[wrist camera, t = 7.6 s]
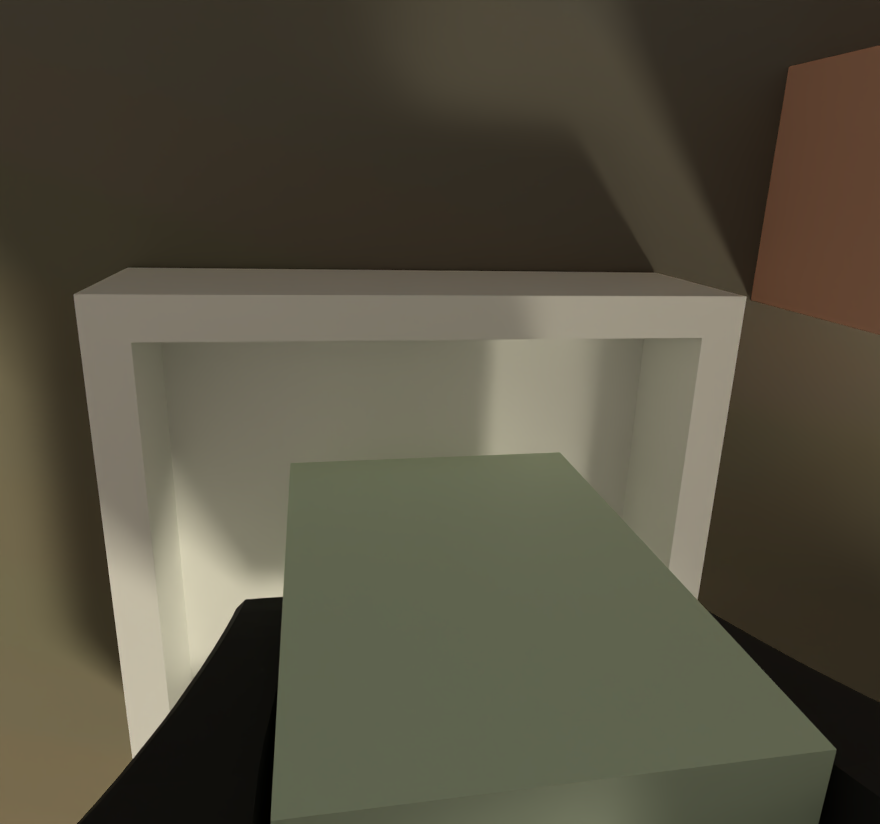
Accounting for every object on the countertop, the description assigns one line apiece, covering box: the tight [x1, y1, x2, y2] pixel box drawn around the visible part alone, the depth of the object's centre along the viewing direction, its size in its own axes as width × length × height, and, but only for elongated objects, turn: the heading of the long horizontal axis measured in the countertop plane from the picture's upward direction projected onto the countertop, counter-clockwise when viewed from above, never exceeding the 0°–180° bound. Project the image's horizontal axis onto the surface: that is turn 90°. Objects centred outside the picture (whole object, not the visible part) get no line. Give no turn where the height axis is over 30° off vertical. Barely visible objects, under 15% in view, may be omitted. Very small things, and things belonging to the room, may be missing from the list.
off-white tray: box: [73, 268, 747, 758], centre depth 12 cm, size 9×9×3 cm
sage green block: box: [271, 452, 837, 824], centre depth 8 cm, size 4×4×6 cm
